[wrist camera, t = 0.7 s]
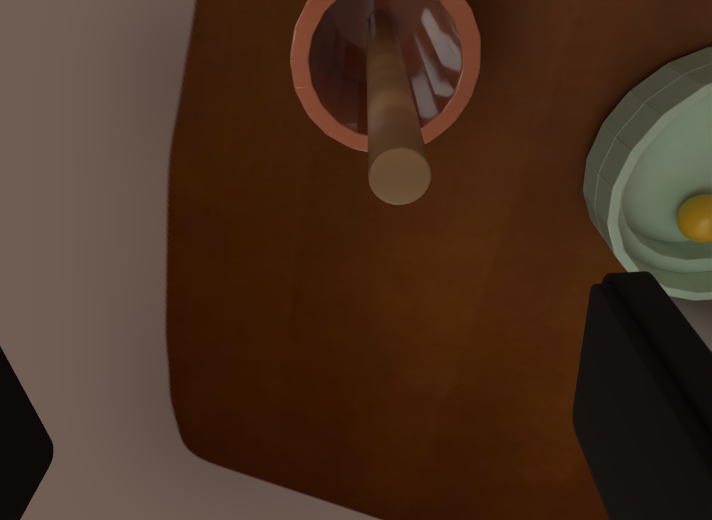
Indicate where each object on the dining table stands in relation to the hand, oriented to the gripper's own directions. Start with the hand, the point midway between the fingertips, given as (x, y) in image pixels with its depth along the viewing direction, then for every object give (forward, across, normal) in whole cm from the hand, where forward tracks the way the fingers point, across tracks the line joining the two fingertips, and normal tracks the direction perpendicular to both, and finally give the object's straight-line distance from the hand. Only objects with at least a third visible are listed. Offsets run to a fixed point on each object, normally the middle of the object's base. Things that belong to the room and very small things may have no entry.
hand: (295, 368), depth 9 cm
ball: (+25, -21, +13) cm, 35 cm away
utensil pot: (+27, -2, 0) cm, 27 cm away
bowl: (+27, -21, +10) cm, 36 cm away
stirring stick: (+27, -2, 0) cm, 27 cm away
